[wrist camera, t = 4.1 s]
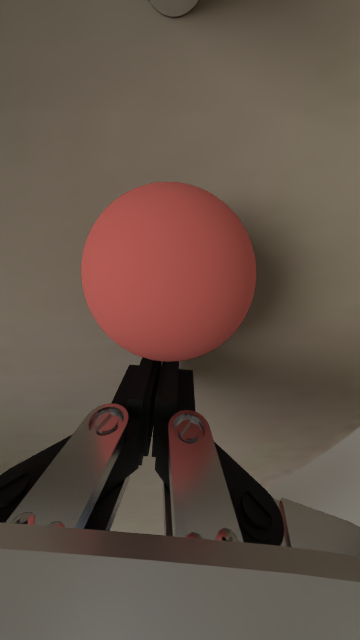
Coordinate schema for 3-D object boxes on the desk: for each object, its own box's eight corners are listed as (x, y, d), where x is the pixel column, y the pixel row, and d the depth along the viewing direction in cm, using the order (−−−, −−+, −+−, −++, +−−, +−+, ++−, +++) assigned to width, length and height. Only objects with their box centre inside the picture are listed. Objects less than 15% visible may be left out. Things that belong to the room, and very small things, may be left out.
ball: (75, 424, 4) (99, 28, 2) (76, 332, 9) (84, 190, 8) (270, 384, 7) (321, 198, 5) (185, 333, 12) (202, 231, 10)
